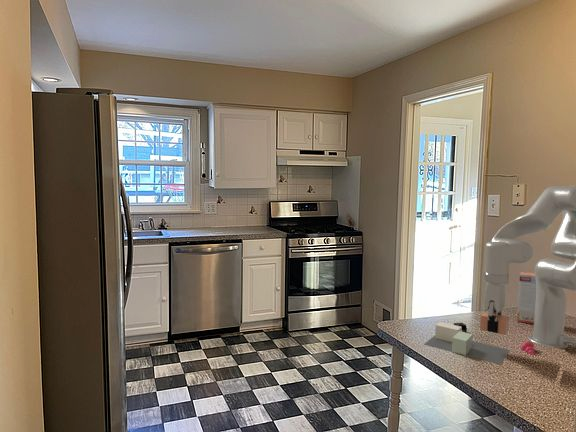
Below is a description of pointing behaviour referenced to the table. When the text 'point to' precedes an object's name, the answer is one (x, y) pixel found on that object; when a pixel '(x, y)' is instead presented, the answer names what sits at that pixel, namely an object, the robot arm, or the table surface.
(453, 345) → the sage brick
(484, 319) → the terracotta brick
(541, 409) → the table surface
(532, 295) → the cracker box
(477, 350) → the baseplate
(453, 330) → the cream brick
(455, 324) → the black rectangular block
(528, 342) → the toy pieces
